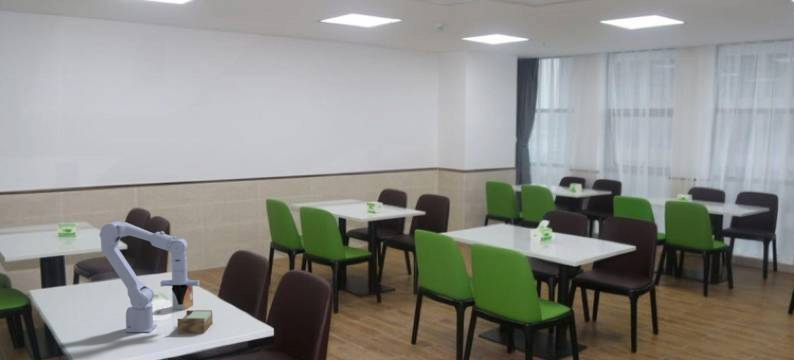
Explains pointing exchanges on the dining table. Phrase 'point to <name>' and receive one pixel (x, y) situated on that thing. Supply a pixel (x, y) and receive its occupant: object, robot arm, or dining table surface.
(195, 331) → the walnut box
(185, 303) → the small box
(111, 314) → the dining table surface
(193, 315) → the cover plate
